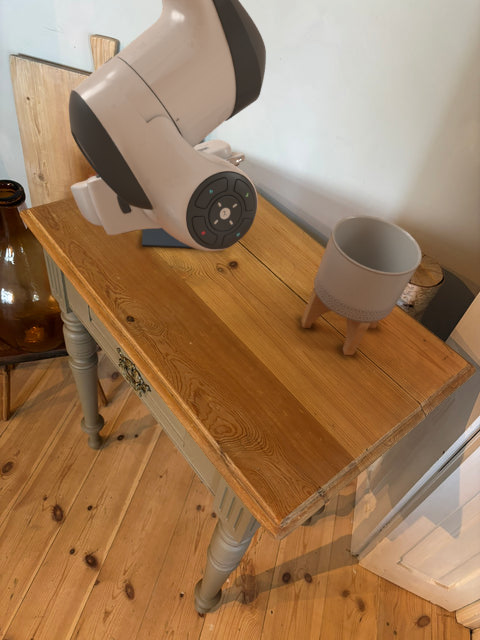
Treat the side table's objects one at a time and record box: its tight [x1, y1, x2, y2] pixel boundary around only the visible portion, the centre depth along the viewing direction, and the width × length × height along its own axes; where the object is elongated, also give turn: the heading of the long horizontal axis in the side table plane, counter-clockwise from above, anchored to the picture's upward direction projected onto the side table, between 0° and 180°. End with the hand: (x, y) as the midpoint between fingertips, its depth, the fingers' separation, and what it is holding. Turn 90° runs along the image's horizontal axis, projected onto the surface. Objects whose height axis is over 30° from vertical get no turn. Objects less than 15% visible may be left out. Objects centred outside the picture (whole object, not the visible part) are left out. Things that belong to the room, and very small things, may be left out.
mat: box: [141, 228, 194, 249], centre depth 90 cm, size 14×13×1 cm
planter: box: [300, 214, 422, 356], centre depth 72 cm, size 13×13×18 cm
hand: (141, 169), depth 64 cm, fingers open, 8 cm apart
